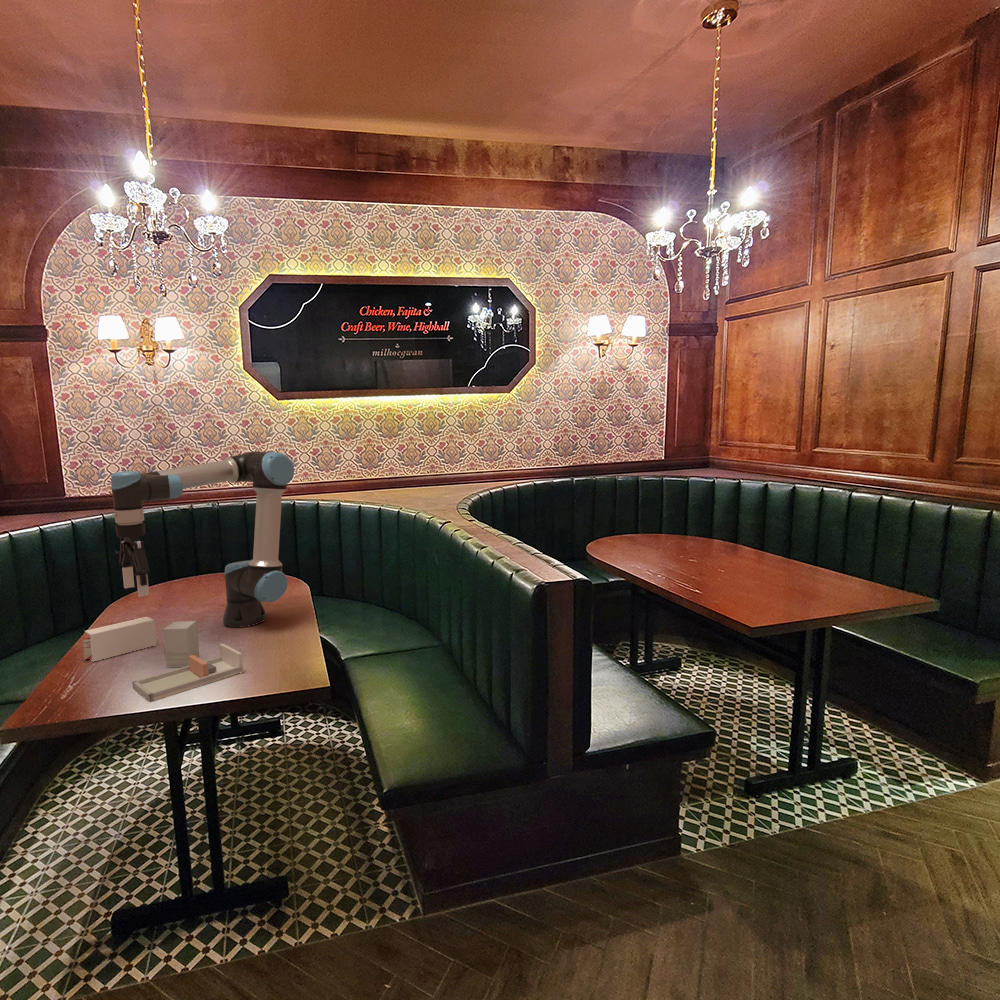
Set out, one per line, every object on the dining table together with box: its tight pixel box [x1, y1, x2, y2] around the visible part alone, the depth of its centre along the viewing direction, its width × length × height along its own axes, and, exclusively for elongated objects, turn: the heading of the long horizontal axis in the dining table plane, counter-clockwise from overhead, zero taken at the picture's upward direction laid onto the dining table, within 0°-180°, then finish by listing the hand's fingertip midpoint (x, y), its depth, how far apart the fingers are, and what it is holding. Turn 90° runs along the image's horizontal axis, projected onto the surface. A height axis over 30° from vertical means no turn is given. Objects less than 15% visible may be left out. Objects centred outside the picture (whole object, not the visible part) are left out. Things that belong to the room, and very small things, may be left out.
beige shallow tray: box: [131, 643, 244, 703], centre depth 180 cm, size 26×13×6 cm, turn 138°
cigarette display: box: [82, 616, 157, 663], centre depth 202 cm, size 20×6×9 cm, turn 140°
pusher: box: [189, 655, 216, 678], centre depth 183 cm, size 5×10×4 cm, turn 48°
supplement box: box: [162, 620, 201, 669], centre depth 193 cm, size 7×7×13 cm
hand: (136, 591), depth 188 cm, fingers open, 13 cm apart
